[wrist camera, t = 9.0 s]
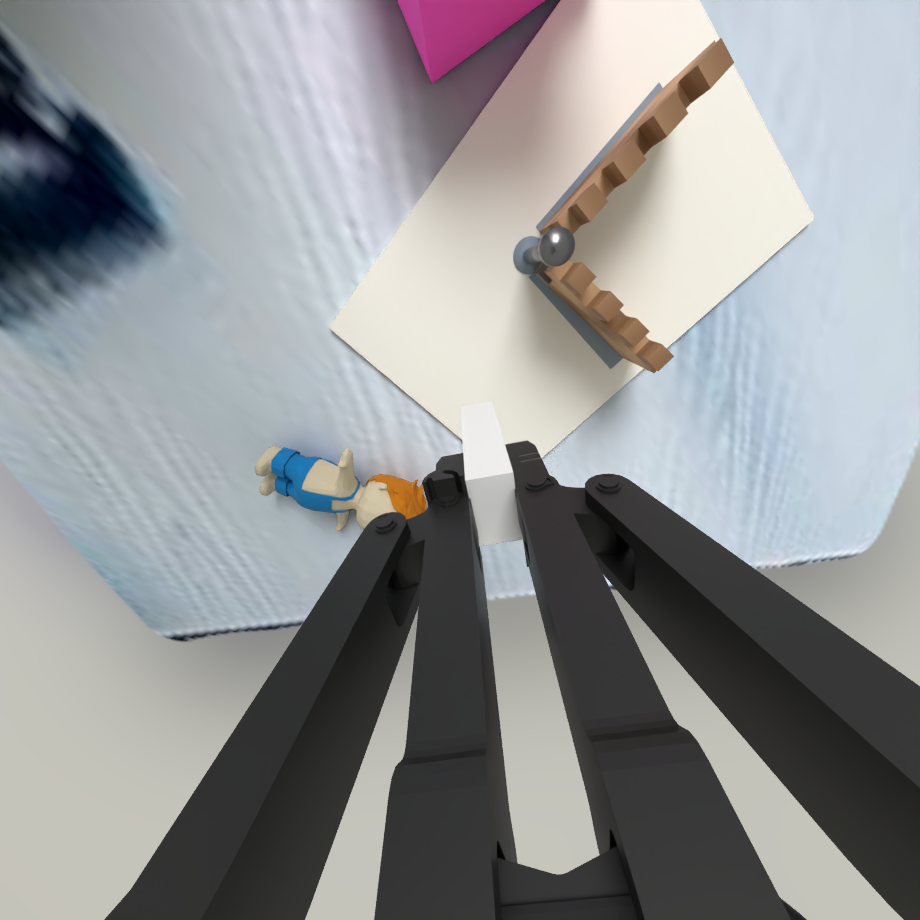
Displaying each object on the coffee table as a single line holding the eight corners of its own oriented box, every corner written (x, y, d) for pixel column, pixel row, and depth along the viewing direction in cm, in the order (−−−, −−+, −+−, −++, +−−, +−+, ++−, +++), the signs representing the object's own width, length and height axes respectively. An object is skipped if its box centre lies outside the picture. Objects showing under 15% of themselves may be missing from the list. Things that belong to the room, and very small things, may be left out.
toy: (237, 445, 26) (432, 513, 27) (283, 396, 30) (450, 457, 31) (259, 526, 35) (406, 575, 35) (292, 479, 39) (423, 525, 40)
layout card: (330, 326, 28) (328, 327, 28) (636, -105, 19) (641, -114, 18) (512, 480, 35) (513, 483, 34) (809, 219, 25) (815, 218, 25)
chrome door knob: (512, 256, 26) (533, 248, 19) (530, 235, 25) (559, 217, 18) (528, 275, 26) (555, 274, 19) (547, 254, 26) (582, 245, 19)
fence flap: (529, 274, 26) (550, 273, 20) (546, 252, 26) (573, 244, 20) (621, 361, 29) (662, 382, 23) (638, 343, 28) (685, 360, 23)
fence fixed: (550, 244, 26) (578, 234, 20) (539, 230, 25) (564, 216, 19) (672, 106, 22) (750, 44, 16) (662, 88, 22) (737, 19, 16)
